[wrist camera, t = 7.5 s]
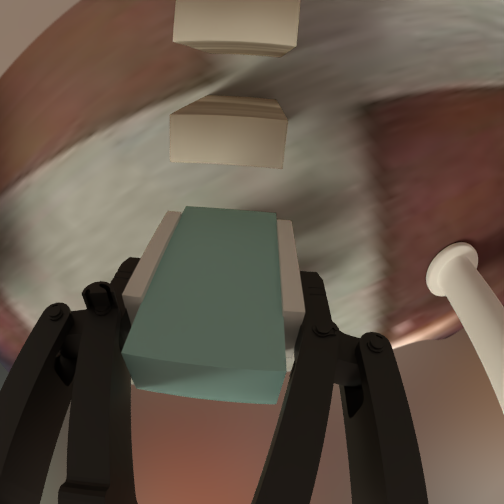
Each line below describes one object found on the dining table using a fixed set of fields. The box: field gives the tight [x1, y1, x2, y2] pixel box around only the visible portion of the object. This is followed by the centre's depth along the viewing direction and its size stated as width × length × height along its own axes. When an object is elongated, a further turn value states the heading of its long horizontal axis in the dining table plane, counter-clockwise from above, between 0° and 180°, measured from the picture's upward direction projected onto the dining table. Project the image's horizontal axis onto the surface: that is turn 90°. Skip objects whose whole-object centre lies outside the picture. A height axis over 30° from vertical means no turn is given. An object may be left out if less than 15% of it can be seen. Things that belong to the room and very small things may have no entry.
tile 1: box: [173, 0, 301, 58], centre depth 13 cm, size 2×5×10 cm, turn 86°
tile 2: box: [170, 95, 288, 169], centre depth 16 cm, size 2×5×10 cm, turn 85°
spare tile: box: [121, 206, 286, 404], centre depth 13 cm, size 2×5×10 cm, turn 85°
